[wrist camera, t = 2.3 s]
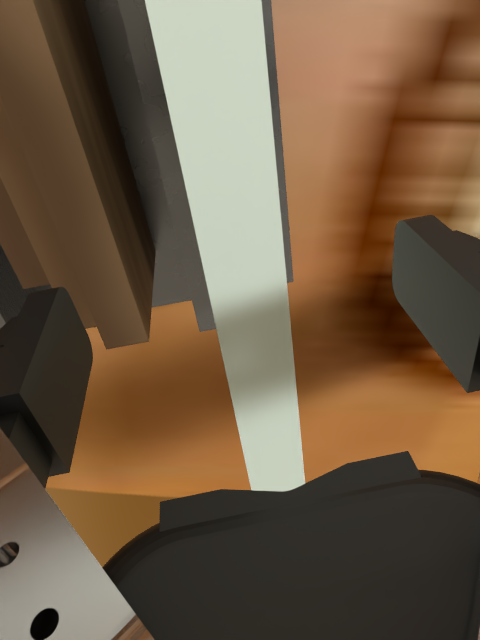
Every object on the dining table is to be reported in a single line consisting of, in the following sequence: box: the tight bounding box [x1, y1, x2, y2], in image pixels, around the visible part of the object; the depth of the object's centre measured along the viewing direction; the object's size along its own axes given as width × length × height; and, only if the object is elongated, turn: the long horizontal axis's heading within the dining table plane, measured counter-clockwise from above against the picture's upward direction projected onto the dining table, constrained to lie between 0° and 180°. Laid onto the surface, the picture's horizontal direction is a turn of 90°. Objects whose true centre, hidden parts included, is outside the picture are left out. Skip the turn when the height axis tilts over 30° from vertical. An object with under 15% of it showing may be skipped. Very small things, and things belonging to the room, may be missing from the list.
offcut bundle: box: [0, 0, 156, 349], centre depth 20 cm, size 6×14×9 cm, turn 8°
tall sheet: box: [145, 0, 305, 491], centre depth 17 cm, size 2×16×18 cm, turn 8°
